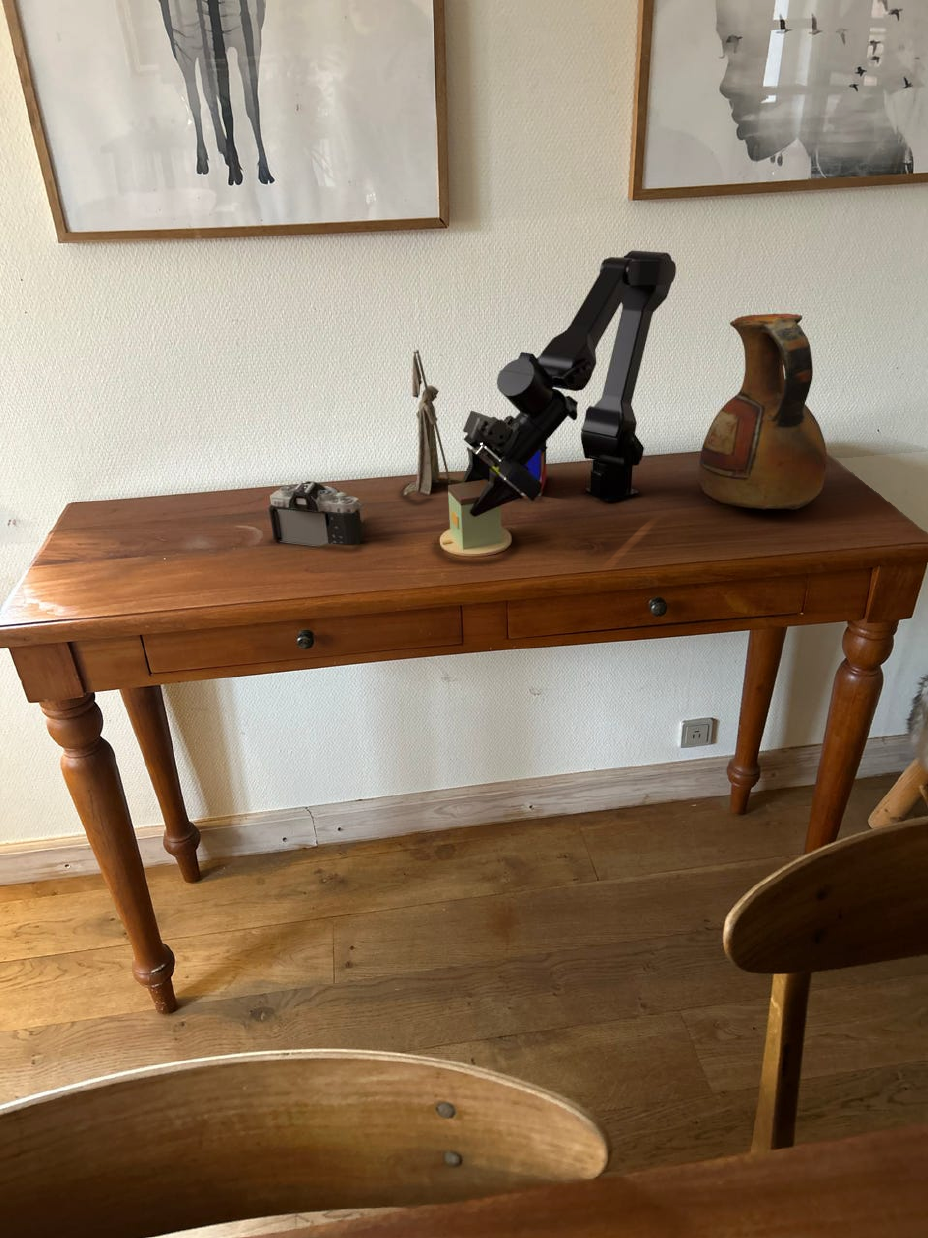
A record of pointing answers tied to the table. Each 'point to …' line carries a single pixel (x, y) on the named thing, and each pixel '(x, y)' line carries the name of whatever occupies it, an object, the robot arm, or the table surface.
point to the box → (473, 524)
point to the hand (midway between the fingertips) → (464, 506)
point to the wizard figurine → (426, 433)
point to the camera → (315, 515)
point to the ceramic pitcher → (767, 423)
